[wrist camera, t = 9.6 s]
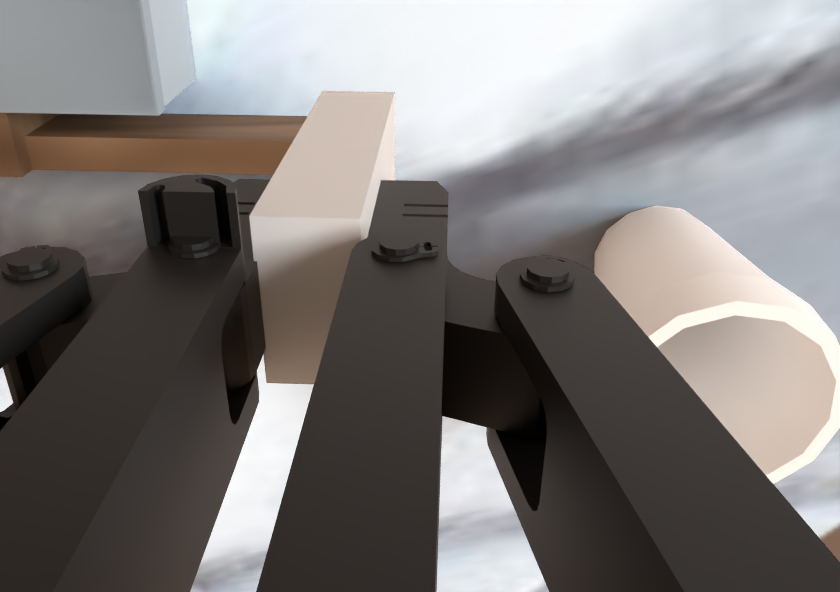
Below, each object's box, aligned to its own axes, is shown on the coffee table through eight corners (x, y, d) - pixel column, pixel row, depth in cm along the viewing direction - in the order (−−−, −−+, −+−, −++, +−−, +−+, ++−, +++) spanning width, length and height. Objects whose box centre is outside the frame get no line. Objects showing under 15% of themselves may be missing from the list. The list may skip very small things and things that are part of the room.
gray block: (20, -83, 35) (-56, -74, 30) (179, -81, 35) (130, -72, 30) (54, 78, 39) (-8, 112, 34) (199, 81, 39) (159, 115, 33)
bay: (-38, -182, 34) (-112, -188, 29) (375, -179, 33) (362, -186, 29) (38, 142, 40) (-13, 176, 36) (381, 149, 40) (371, 184, 35)
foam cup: (686, 356, 45) (764, 522, 34) (537, 304, 44) (565, 459, 32) (777, 212, 41) (903, 347, 29) (614, 150, 39) (679, 267, 28)
